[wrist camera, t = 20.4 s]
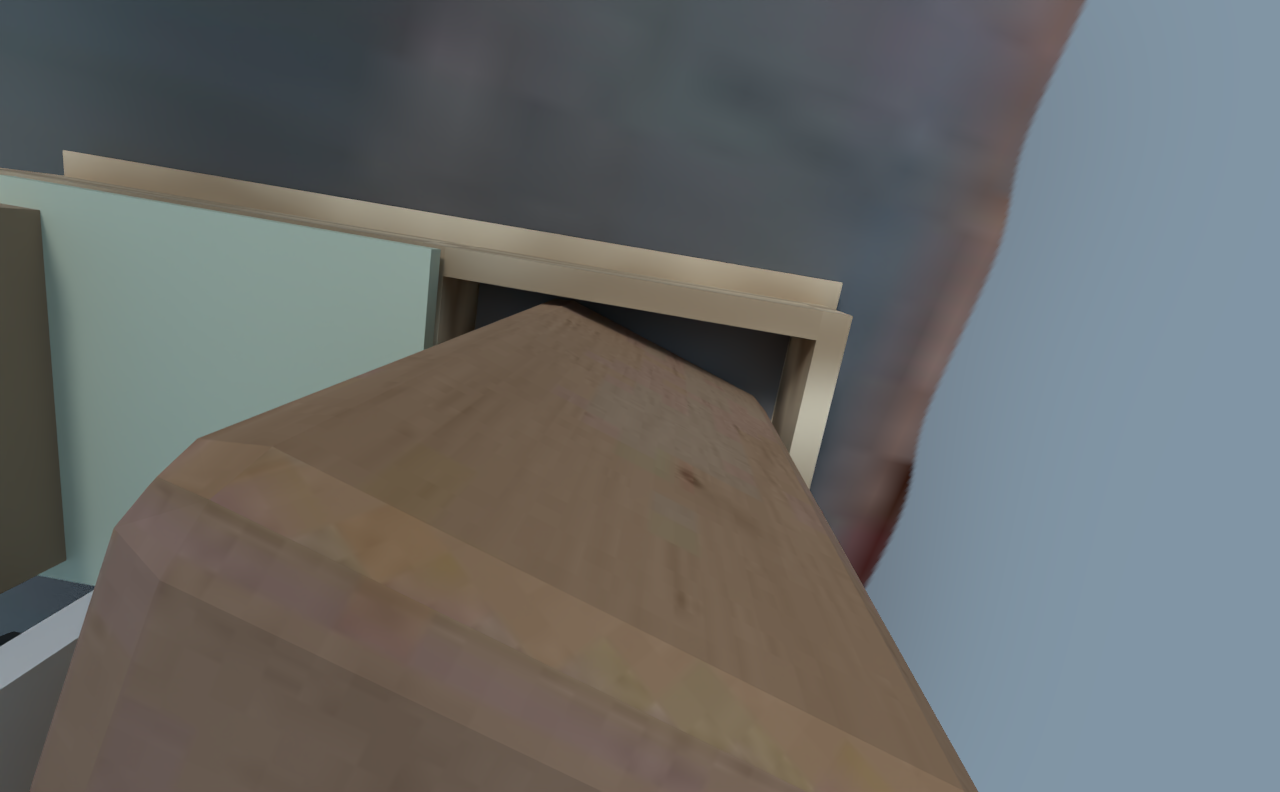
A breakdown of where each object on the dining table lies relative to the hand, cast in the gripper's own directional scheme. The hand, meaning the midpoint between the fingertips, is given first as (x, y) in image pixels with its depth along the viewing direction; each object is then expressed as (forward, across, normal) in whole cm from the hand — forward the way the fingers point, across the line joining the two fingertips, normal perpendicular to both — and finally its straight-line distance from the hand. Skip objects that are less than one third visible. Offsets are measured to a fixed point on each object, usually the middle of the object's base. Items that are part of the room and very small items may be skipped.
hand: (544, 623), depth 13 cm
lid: (+9, -14, -1) cm, 16 cm away
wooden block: (+13, 0, 0) cm, 13 cm away
